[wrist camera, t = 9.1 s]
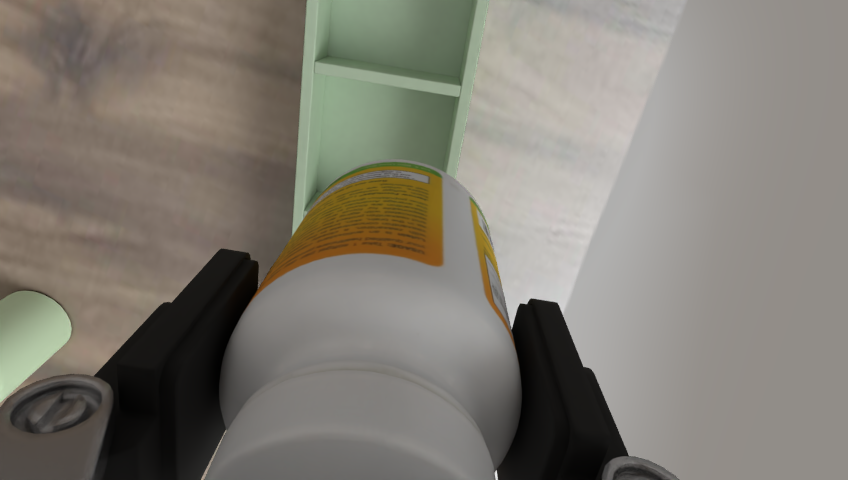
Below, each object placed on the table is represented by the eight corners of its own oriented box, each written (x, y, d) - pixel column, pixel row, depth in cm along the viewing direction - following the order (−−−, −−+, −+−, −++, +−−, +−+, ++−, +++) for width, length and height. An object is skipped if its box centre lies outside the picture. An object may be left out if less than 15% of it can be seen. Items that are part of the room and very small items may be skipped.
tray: (498, -83, 28) (507, -97, 24) (424, 322, 38) (422, 357, 34) (331, -113, 27) (314, -132, 24) (300, 304, 37) (285, 337, 34)
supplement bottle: (271, 256, 16) (60, 567, 7) (378, 114, 14) (276, 291, 5) (413, 352, 17) (385, 721, 8) (528, 232, 15) (648, 537, 7)
